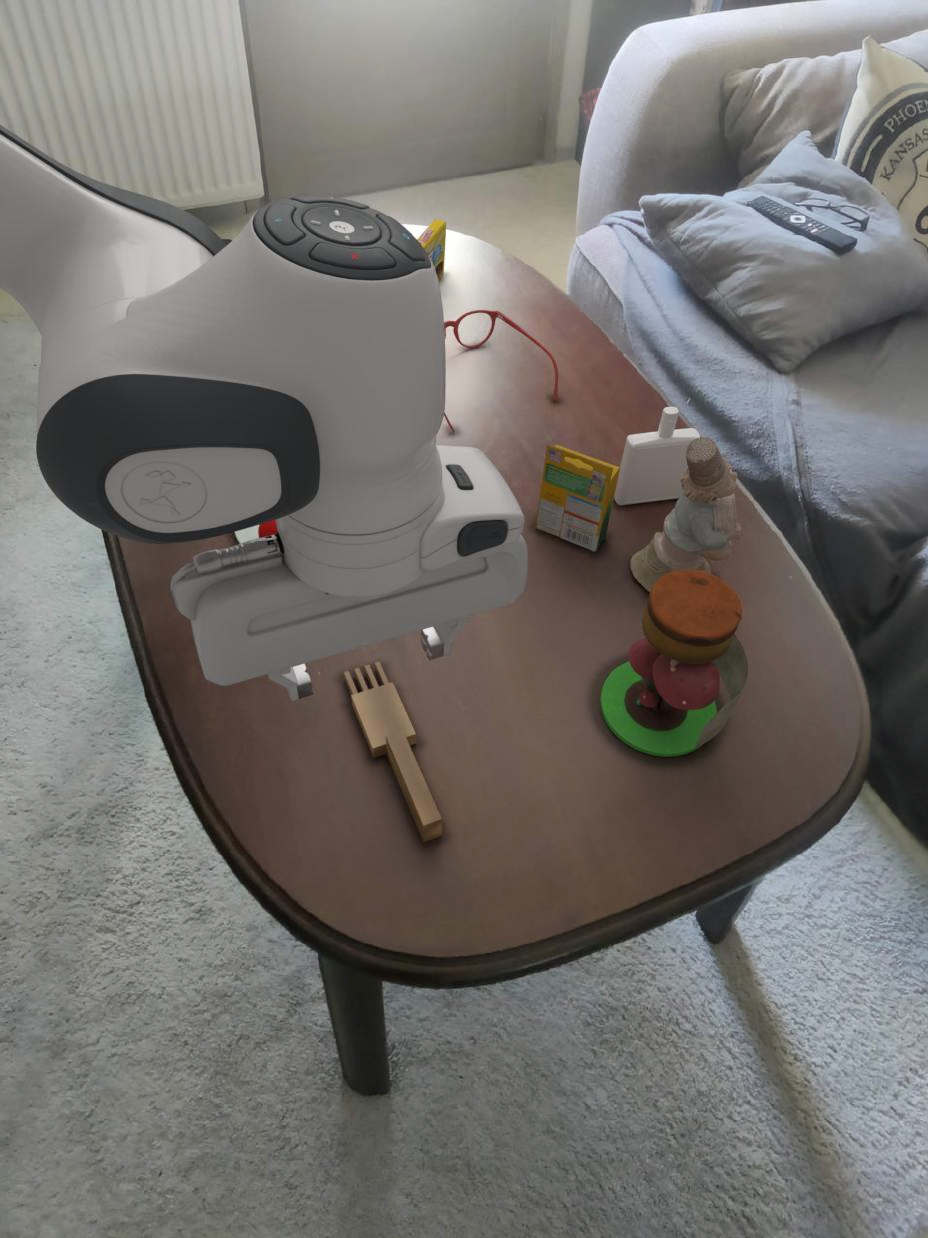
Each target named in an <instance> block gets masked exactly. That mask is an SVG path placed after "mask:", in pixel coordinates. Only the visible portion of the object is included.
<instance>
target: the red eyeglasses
mask: <svg viewBox="0 0 928 1238" xmlns="http://www.w3.org/2000/svg"><path fill="white" fill-rule="evenodd" d="M473 314H486V315H488V316H489V318H490V320H491V325H490V329H489V332H488V333H487V335H486V337H485V338H484V339H483V340H482V341H481V342H479V343H477V344H474V345H466V344H464V343H463V342H462V341H461V339H460V334H459V326H460V323H461V322H462V320H463V319H464V318H466V317H468V316H470V315H473ZM497 318H498V319H500V320H501V321H503V322H504V323H505V324H507V325H509V326H510V327H511V328H513V329H514V330H516V331H518V332H519V333H520V334H522V335H523V336H524V337H526V338H528V340H530V341H531V342H533V343H534V344H535V345H536V346H538V348H540V349H541V350H542V351H543V352H544V353H546V355H547V356H548V357H549V358H550V360H551V362H552V365H553V369H554V387H553V388H554V389H553V396H552V397H553V398H552V399H553V401H554V402H556V401H557V399H558V389H559V368H558V365H557V362H556V359H555V358H554V356H553V354H552V353H551V352H550V351H549V350H548V349H547V348H546V347H545V346H544V345H543V344H542V343H540V342H539V341H538V340H537V339H536V338H534V337H533V336H532V335H530V333H528V332H527V331H525V330H524V328H522V327H521V326H520V325H519V324H517V323H516V322H515V321H513V320H512V319H511V318H509V317H508V316H506V315H505V314H503V313H502V312H501V311H499V310H489V309H476V310H470V311H468V312H465V313H463V314H461V316H459V317H458V318H457V319H456V320H447V321H444V329H445V340H446V339H447V328H448V327H452V331H453V335H454V337H455V339H456V341H457V343H459V345H460V346H462V347H465V348H466V349H476V348H478V347H481V346H483V345H484V344H485V343H486V342H488V340H489V339H490V338H491V336H492V335H493V332H494V329H495V326H496V320H497ZM444 418H445V420H446V423H447V425H448V426H449V428H450V430H451V431H452V432H453V433H455V429H454V427H453V426H452V424H451V422H450V420H449V418H448V416H447V414H446V412H445V411H444Z"/></svg>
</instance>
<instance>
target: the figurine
mask: <svg viewBox="0 0 928 1238" xmlns="http://www.w3.org/2000/svg"><path fill="white" fill-rule="evenodd" d="M686 460H687V465H688V469H687V471H686V472H685V473H684V477H683V478H682V479H681V483H682V484H681V485H682V488H683V492H682V495H681V497H680V498H678V499H677V501H676V502H675V506H674V508H673V509H672V510H671V512H669V513H668V514H667V516H666V517H665V518H664V522H663V529H662V532H661V531H657V532H655V533H654V535H653V537H652V539H651V541H649V544H647V545H646V546H645V547H644V548H643V549H641V550H639V551H637V552H636V553H635V554H634V555H632V557H631V559H630V570H631V573H632V575H633V577H634V579H635V580H637V582H638V583H639V584H641V586H642V587H643V588H644V589H645V590H646V591H647V592H649V593H650V590H651V588H652V587H653V585H654V583H655V582H656V581H657V580H658V579H659V578H660V577H662V576H663V575H665V574H667V573H669V572H672V571H676V570H682V569H692V570H699V571H703V572H707V573H710V574H712V571H711V566H710V563H709V561H707V560H706V558H707V559H710V560H712V561H724V560H726V559H727V558H729V557H730V555H731V552H732V549H731V547H732V545H733V543H732V540H737V539H738V540H739V539H740V537H741V535H742V527H741V526H742V525H741V524H740V523H738V512H737V503H736V497H735V492H736V489H737V483H736V482H737V478H738V476H739V475H738V472H736V471H733V470H732V469H733V465H732V464H730V460H729V459H728V458H726V457H725V456H722V454H721V452H720V449H719V447H718V446H717V444H716V442H715V441H714V440H713V439H712V438H709V437H706V436H700V438H696V439H694V440H693V441H692V442H690V444H689V445H688V447H687V452H686Z"/></svg>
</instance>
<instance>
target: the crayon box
mask: <svg viewBox="0 0 928 1238" xmlns="http://www.w3.org/2000/svg"><path fill="white" fill-rule="evenodd" d="M619 473H620V466H617V465H614V464H612V463H608V462H606V461H603V460H600V459H597V458H594V457H592V456H589V455H586V454H583V453H581V452H578V451H575V450H572V449H569V448H567V447H564V446H561V445H559V444H555V445H552V444H546V450H545V458H544V462H543V469H542V477H541V483H540V490H539V497H538V505H537V511H536V519H535V530H538V531H542V532H545V533H548V534H550V535H552V536H555V537H558V538H560V539H562V540H563V541H567V542H569V543H572V544H574V545H576V546H579V547H582V548H584V549H587V550H589V551H591V552H594V553H596V552H597V551H598V550H599V547H601V544H602V543H603V541H604V540H605V538H606V537H607V532H608V528H609V523H610V519H611V514H612V508H613V505H614V501H615V498H614V495H615V491H616V486H617V482H618V477H619Z"/></svg>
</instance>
